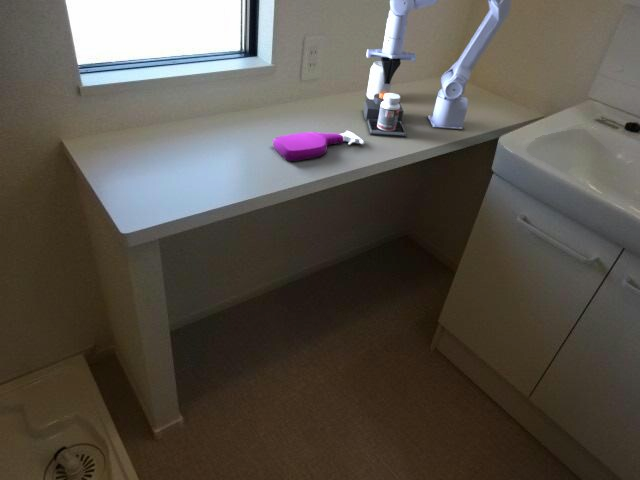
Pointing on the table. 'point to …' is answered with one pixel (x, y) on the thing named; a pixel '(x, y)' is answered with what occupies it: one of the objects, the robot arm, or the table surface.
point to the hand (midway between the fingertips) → (386, 82)
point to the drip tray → (376, 131)
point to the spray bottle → (310, 144)
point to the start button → (382, 94)
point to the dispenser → (376, 108)
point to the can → (377, 80)
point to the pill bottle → (389, 112)
